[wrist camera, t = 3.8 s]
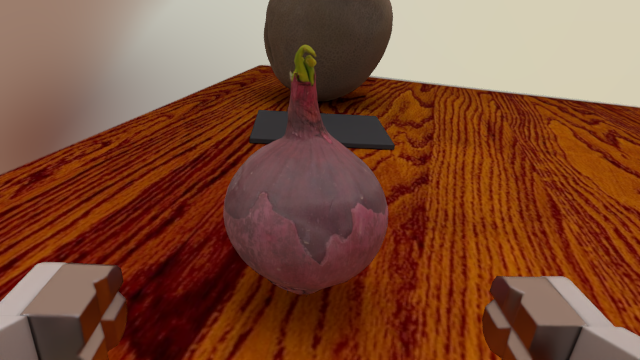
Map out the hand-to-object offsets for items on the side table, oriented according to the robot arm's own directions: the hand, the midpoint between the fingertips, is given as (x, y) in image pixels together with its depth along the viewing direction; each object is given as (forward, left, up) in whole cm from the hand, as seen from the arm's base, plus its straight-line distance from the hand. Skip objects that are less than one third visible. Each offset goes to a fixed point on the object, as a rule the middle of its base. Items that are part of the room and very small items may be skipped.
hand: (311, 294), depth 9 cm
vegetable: (0, +7, -6) cm, 9 cm away
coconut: (+3, +43, -6) cm, 43 cm away
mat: (+2, +30, -5) cm, 30 cm away
